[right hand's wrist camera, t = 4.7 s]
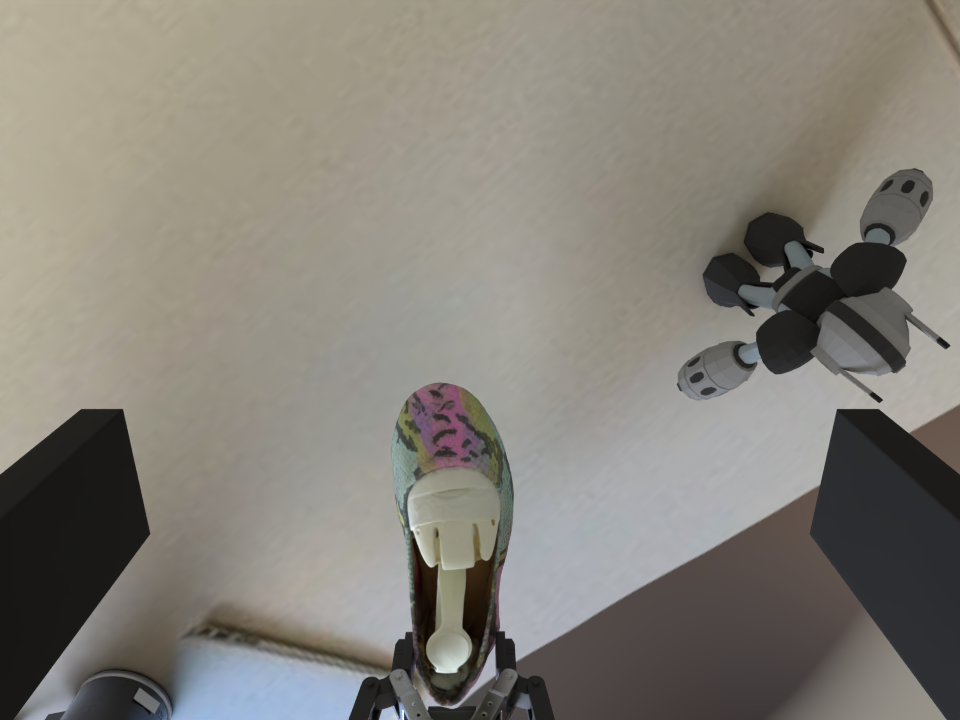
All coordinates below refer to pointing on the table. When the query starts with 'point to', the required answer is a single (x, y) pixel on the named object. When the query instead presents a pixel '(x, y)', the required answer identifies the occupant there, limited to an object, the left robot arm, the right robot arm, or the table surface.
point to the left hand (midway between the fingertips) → (456, 640)
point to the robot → (818, 297)
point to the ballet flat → (452, 532)
